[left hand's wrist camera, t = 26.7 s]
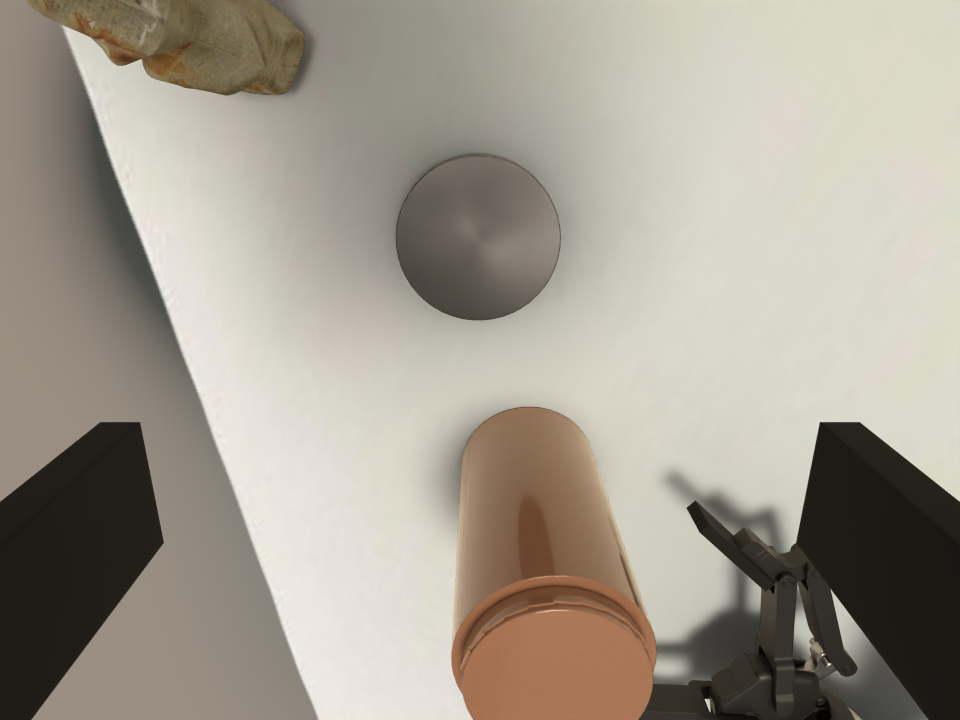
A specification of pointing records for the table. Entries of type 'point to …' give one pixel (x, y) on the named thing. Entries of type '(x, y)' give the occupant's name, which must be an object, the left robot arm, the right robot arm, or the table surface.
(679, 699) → the right robot arm
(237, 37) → the sculpture
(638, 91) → the table surface
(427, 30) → the table surface
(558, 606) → the jar
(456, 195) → the lid
